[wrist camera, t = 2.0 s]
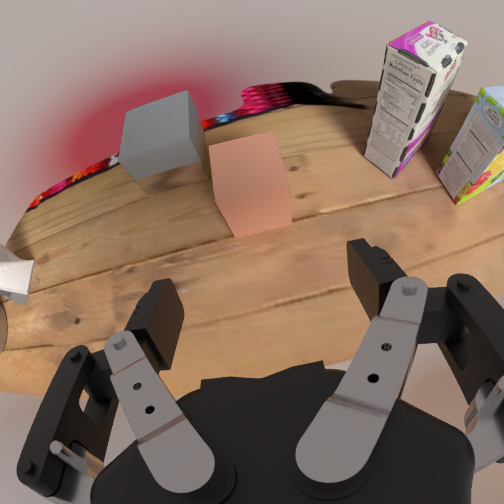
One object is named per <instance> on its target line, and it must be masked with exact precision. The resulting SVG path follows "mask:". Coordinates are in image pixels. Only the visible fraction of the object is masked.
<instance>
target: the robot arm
mask: <svg viewBox="0 0 504 504" xmlns="http://www.w3.org/2000/svg"><path fill="white" fill-rule="evenodd" d="M347 259H348V273H349V279H350V282H351V285H352V287H353V289H354V291H355V293H356V294H357V296H358V298H359V300H360V302H361V304H362V306H363V308H364V309H365V311H366V313H367V315H368V317H369V319H370V321H371V323H370V325H369V327H368V330H367V332H366V334H365V336H364V338H363V340H362V342H361V344H360V346H359V348H358V350H357V352H356V354H355V356H354V358H353V360H352V362H351V364H350V366H349V368H348V370H347V371H343V370H338V369H325V367H324V363H323V360H322V361H317V362H313V363H308V364H303V365H298V366H293V367H290V368H288V369H285V370H283V371H280V372H278V373H275V374H272V375H270V376H267V377H264V378H242V377H222V378H213V379H203V380H201V386H200V389H198V390H195V391H192V392H190V393H188V394H186V395H185V396H183V397H181V398H180V399H179V400H177V401H176V400H175V398H174V397H173V395H172V394H171V392H170V391H169V389H168V388H167V386H166V385H165V384H164V382H163V380H162V379H161V377H160V376H159V372H160V370H170V369H171V365H172V361H173V357H174V353H175V349H176V346H177V342H178V338H179V335H180V331H181V327H182V324H183V320H184V309H183V305H182V303H181V301H180V298H179V296H178V294H177V291H176V289H175V287H174V284H173V282H172V280H171V279H170V278H167V279H162V280H157V281H154V282H153V284H152V286H151V288H150V290H149V292H148V293H146V294H145V295H144V296H143V297H142V298H141V299H140V300H139V302H138V303H137V305H136V309H134V311H133V314H132V315H131V317H130V319H129V321H128V323H127V325H126V327H125V329H124V331H121V332H118V333H116V334H114V335H112V336H111V337H110V338H109V339H108V340H107V341H106V343H105V345H104V349H103V350H100V351H97V352H94V353H91V352H90V351H89V349H88V348H87V347H86V346H84V345H79V346H76V347H74V348H72V349H71V350H70V351H68V352H67V354H66V355H65V356H64V358H63V360H62V362H61V364H60V366H59V368H58V370H57V372H56V374H55V376H54V378H53V380H52V382H51V384H50V386H49V388H48V390H47V392H46V394H45V396H44V399H43V401H42V403H41V405H40V408H39V410H38V412H37V414H36V417H35V419H34V421H33V424H32V426H31V429H30V431H29V434H28V436H27V439H26V442H25V444H24V447H23V449H22V452H21V455H20V458H19V461H18V464H17V476H18V479H19V480H20V481H21V482H22V483H23V484H25V485H26V486H28V487H29V488H31V489H32V490H34V491H36V492H37V493H38V494H39V495H41V496H42V497H44V498H46V499H48V500H49V501H51V502H53V503H55V504H471V488H472V480H473V475H474V474H475V473H476V472H478V471H480V470H482V469H484V468H486V467H487V466H489V465H491V464H492V463H494V462H497V463H504V309H503V308H502V307H501V306H500V305H499V303H498V302H497V301H496V300H495V299H494V298H493V296H492V295H491V294H490V293H489V292H488V291H487V290H486V289H485V288H484V286H483V285H482V284H481V283H480V282H479V281H478V280H477V279H476V278H474V277H473V276H471V275H468V274H454V275H452V276H451V277H449V279H448V281H447V287H436V288H428V286H427V284H426V283H425V282H424V281H423V280H421V279H419V278H416V277H410V276H407V275H406V274H405V272H404V271H403V270H402V269H401V268H400V267H399V265H398V264H397V263H396V262H395V261H394V260H393V259H392V258H391V257H390V255H389V254H388V253H387V252H386V251H385V250H383V249H381V248H379V247H377V246H375V247H371V246H370V245H369V244H368V243H367V242H366V240H365V239H364V238H361V239H356V240H352V241H347ZM6 336H7V321H6V315H5V312H4V309H3V307H2V306H1V304H0V353H1V352H2V351H3V349H4V346H5V342H6ZM428 343H437V344H438V346H439V348H440V349H441V351H442V353H443V355H444V357H445V359H446V360H447V362H448V364H449V366H450V368H451V370H452V372H453V374H454V376H455V378H456V380H457V382H458V384H459V386H460V388H461V390H462V392H463V394H464V396H465V399H466V401H467V403H468V405H469V407H468V409H467V410H466V413H465V416H464V423H465V428H466V434H464V433H463V432H462V431H460V430H459V429H457V428H456V427H454V426H452V425H450V424H448V423H446V422H444V421H442V420H440V419H438V418H436V417H434V416H432V415H430V414H428V413H426V412H424V411H422V410H420V409H419V408H417V407H415V406H413V405H410V404H409V403H407V402H405V401H403V400H402V399H401V398H402V395H403V392H404V389H405V386H406V382H407V380H408V376H409V373H410V370H411V367H412V364H413V360H414V357H415V354H416V350H417V346H418V344H428ZM83 389H84V390H85V391H86V392H87V394H88V395H89V399H88V402H87V404H86V407H85V410H84V412H83V411H82V410H81V408H80V406H79V399H80V396H81V393H82V391H83ZM119 401H120V404H121V406H122V408H123V410H124V413H125V415H126V417H127V419H128V422H129V424H130V426H131V428H132V430H133V432H134V434H135V436H136V438H137V439H136V440H135V441H134V442H133V443H132V444H131V445H129V446H128V447H127V448H126V449H125V450H124V451H123V452H122V453H121V454H120V455H118V456H117V457H116V458H115V459H114V460H113V461H112V462H111V463H110V464H108V465H107V466H106V467H105V466H104V464H103V463H104V458H105V454H106V449H107V446H108V441H109V437H110V433H111V429H112V426H113V422H114V418H115V414H116V411H117V407H118V404H119Z"/></svg>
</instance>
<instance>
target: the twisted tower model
mask: <svg viewBox="0 0 504 504" xmlns="http://www.w3.org/2000/svg"><path fill="white" fill-rule="evenodd" d="M34 262H35V260H29V259H20V258H18V257H17V256H16V255H15V254H13V253H12V252H11V251H9V250H8V249H7V248H5V247H4V246H3V245H1V244H0V296H3V297H5V298H6V299H9V300H12V301H16V302H19V303H22V304H25V305H27V300H28V293H29V287H30V282H31V276H32V271H33V266H34Z"/></svg>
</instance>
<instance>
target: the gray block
mask: <svg viewBox="0 0 504 504" xmlns="http://www.w3.org/2000/svg"><path fill="white" fill-rule="evenodd" d="M199 161H201V151H200V138H199V123H198V112H197V110H196V107H195V105H194V103H193V100H192V98H191V96H190V94H189V91H188V90H187V91H183V92H180V93H177V94H174V95H171V96H168V97H165V98H162V99H159V100H156V101H154V102H151V103H148V104H145V105H143V106H140V107H137V108H135V109H132V110H130V111H127V112H126V116H125V122H124V127H123V133H122V139H121V146H120V152H119V160H118V162H119V163H120V164H121V165H122V166H123V167H124V168H125V169H126V171H127V172H128V173H129V174H130V175H131V176H132V177H133V178H134V179H135V180H139V179H142V178H145V177H148V176H151V175H154V174H157V173H161V172H164V171H167V170H171V169H174V168H177V167H181V166H184V165H188V164H192V163H195V162H199Z"/></svg>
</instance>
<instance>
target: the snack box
mask: <svg viewBox="0 0 504 504" xmlns="http://www.w3.org/2000/svg"><path fill="white" fill-rule="evenodd" d="M435 175H436V176H437V177H438V179H439V180H440V181H441V183H442V184H443V186H444V187H445V189H446V190H447V192H448V193H449V195H450V196H451V198H452V200H453V201H454V203H455V204H456V205H458V204H460V203H462V202H464V201H466V200H467V199H469V198H471V197H473V196H475V195H477V194H478V193H480V192H482V191H484V190H485V189H487V188H489V187H491V186H493V185H494V184H496V183H498V182H500V181H501V180H503V179H504V85H502V86H491V87H482V88H481V89H480V91H479V93H478V96H477V98H476V100H475V102H474V104H473V106H472V108H471V110H470V112H469V114H468V116H467V118H466V120H465V122H464V123H463V125H462V127H461V129H460V131H459V133H458V135H457V137H456V138H455V140H454V142H453V144H452V145H451V147H450V149H449V151H448V152H447V154H446V156H445V157H444V159H443V161H442V162H441V164H440V165H439V167H438V169H437V170H436V171H435Z"/></svg>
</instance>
